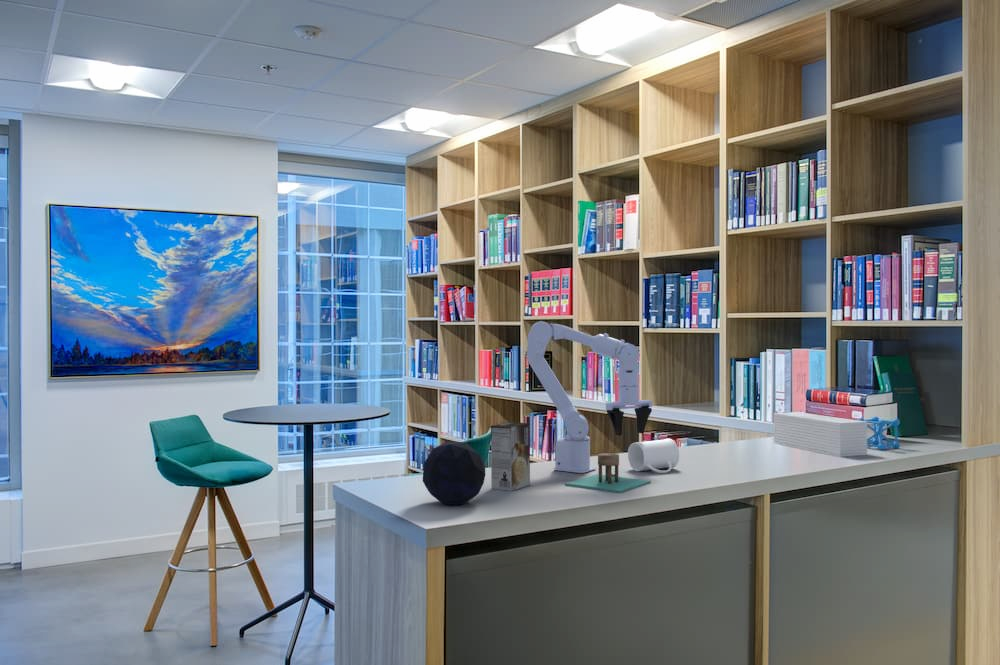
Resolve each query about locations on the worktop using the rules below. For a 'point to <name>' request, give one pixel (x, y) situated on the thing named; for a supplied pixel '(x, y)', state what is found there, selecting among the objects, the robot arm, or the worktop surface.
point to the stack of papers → (821, 433)
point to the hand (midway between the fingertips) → (629, 434)
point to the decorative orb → (454, 473)
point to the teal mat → (618, 487)
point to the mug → (653, 455)
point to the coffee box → (510, 456)
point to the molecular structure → (881, 432)
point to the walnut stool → (608, 466)
